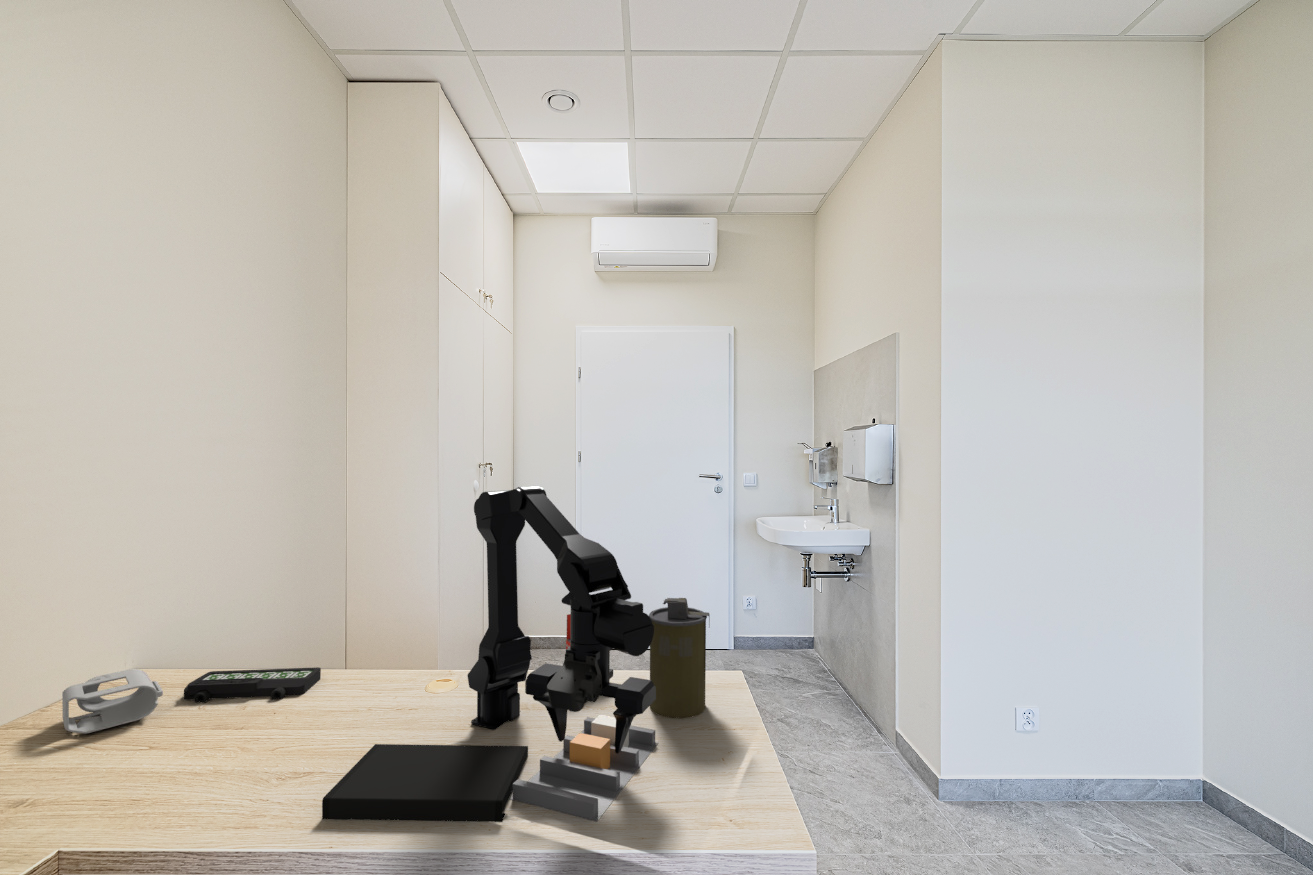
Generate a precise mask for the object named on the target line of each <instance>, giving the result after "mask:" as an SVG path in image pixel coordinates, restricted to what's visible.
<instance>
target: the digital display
mask: <svg viewBox="0 0 1313 875" xmlns="http://www.w3.org/2000/svg"><path fill="white" fill-rule="evenodd" d="M321 670H322V669H321V667H317V666H316V667H298V668H297V667H295V668H294V667H293V668H264V669H261V668H260V669H234V670H211V671H208V672H206V673H205V674H202V675H201V676H199V677H197V678H195V679H194V680H192V681H191V682H189V683H188V684H187V685H186V686H185V687H184V689H183V701H194V703H195V704H199V703H200V704H202V703H203V704H204V703H206V702H208V701H209V700H219V699H220V700H221V699H240V698H241V699H242V698H243V699H244V698H245V699H246V698H264V697H265V698H267V697H268V698H269V697H270V699H271V700H274V701H275V700H283V699H284V698H285V697H286V696H287V697H289V696H302V695H305V694H306V693H307V692H308V691H309V690H310V689H312V688H313V687H314V686H315V685H316V684H317V683H318V682H319V681H320V680H321V674H322V673H321V672H322V671H321Z"/></svg>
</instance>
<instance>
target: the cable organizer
mask: <svg viewBox="0 0 1313 875" xmlns="http://www.w3.org/2000/svg"><path fill="white" fill-rule="evenodd" d="M123 679H125V680H126V682H127V684H123V685H118V686H115V687H114V686H113V687H110V688H105V689H101V690H99V687H100V685H101V684H105V683H108V682H109V683H110V682H113V681H114V682H115V681H118V680H123ZM135 689H137V690H135ZM130 690H135V691H134V692H133V693H130V694H128V695H126V696H125V695H124V696H122V697H117V698H114V699H113V698H112V699H107V698H103V697H104V696H108V695H114V694H117V693H121V692H126V691H130ZM61 695H62V698H61V699H62V721H63V722H62V723H63V727H64V730H66V731H68V732H71V733H76V734H77V733H78V734H85V735H86V734H90V733H93V732H94V733H95V732H98V731H102V730H105V729H110V728H113V727H116V726H120V725H124V724H129V723H132V722H136V721H139V720H142V719H144V718H146V717H149V715H151V714H152V713H153V712H154V711H155V709H156V708H157V706H158V705H159V703H158V699H159V698H160V697H162V696H163V695H164V690H163V689H162V686H160V684H159V682H158V681H157V680H153V681H152V679H151V678H150V676H149V674H147V672H145V671H144V670H143V669H142V670H141V669H138V668H130V669H125V670H121V671H117V672H112V673H106V674H102V675H98V676H97V675H96V676H94V677H92V678H90V679H88V680H86V681H84V682H82V683H77V684H73V685H70V686H68V687H66V688H65V689H64V690H63V691H62V694H61ZM73 700H76V702H77V703H76V704H77V706H78V707H79V708H80V710H83V712H88V713H86V714H82V715H77V716H73V717H72V716H71V717H70V715H69V714H70V712H69V710H70V709H69V707H70V704H69V702H70V701H73Z"/></svg>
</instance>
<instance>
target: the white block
mask: <svg viewBox="0 0 1313 875" xmlns="http://www.w3.org/2000/svg"><path fill="white" fill-rule="evenodd" d="M615 731H616V719H615V717H614V716H612V715H611V716H609V715H605V714H599V715H598V716H597V717H596V718H595V720H594V721H592V722H591V735H593V736H598V737H602V738H607V739H610V744H614V745H615ZM628 746H629V731H628V733H627V736H626V738H625V741H624V744H623V747H628Z"/></svg>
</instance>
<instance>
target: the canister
mask: <svg viewBox="0 0 1313 875" xmlns="http://www.w3.org/2000/svg"><path fill="white" fill-rule="evenodd" d="M666 604H667V606H666V607H660V608H656V609H654V610H652V611H650V612H649V614H648V616H649V617H650V618H651V620H652V624H653V625H654V636H653V639H652V642H651V644H650V646H649V680H652V682H653V684H654V685H655V687H656V699H655V700H654V702H653V703H652V704H651V705H650V706H649V709H650V710H651V712H653V713H654V714H655V715H657V716H661V717H662V718H669V719H680V720H681V719H682V720H683V719H689V718H690V719H691V718H694V717H696V716H699V715H701V714H702V713H704V711H705V710H706V671H707V670H706V667H707V665H706V660H707V657H706V655H707V654H706V653H707V650H706V649H707V648H706V646H707V644H706V640H707V639H706V638H707V633H706V632H707V618H708V627H710V618H711V617H710V612H707V611H705V612H704V611H703V610H700V609H697V608H694V607H689V605H688V604H689V603H688V600H687V598H686V597H675V598H674V597H667V598H665V599H664V600H663V602H662V605H666Z"/></svg>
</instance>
